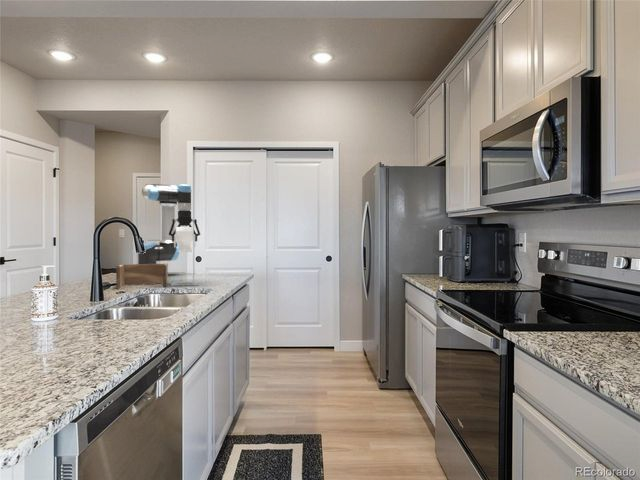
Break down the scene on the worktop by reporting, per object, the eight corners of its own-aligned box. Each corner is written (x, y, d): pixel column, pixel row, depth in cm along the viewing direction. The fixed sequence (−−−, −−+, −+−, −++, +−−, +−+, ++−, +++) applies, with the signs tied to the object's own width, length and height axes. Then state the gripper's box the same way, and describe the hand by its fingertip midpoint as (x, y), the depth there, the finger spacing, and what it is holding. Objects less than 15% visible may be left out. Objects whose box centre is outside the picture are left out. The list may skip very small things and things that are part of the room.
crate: (121, 284, 224) (121, 263, 223) (167, 282, 232) (167, 262, 232) (116, 288, 208) (116, 266, 207) (166, 286, 216) (166, 264, 216)
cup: (190, 252, 220) (190, 227, 220) (172, 252, 221) (172, 227, 220) (196, 251, 231) (196, 227, 231) (179, 251, 231) (179, 227, 231)
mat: (172, 283, 231) (172, 282, 231) (197, 282, 236) (197, 281, 236) (171, 286, 217) (171, 285, 217) (198, 285, 222) (198, 284, 222)
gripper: (163, 209, 218) (163, 247, 218) (204, 210, 225) (204, 247, 226) (164, 210, 225) (164, 247, 225) (204, 211, 232) (204, 246, 233)
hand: (184, 247), depth 226 cm, fingers closed on cup, 10 cm apart
